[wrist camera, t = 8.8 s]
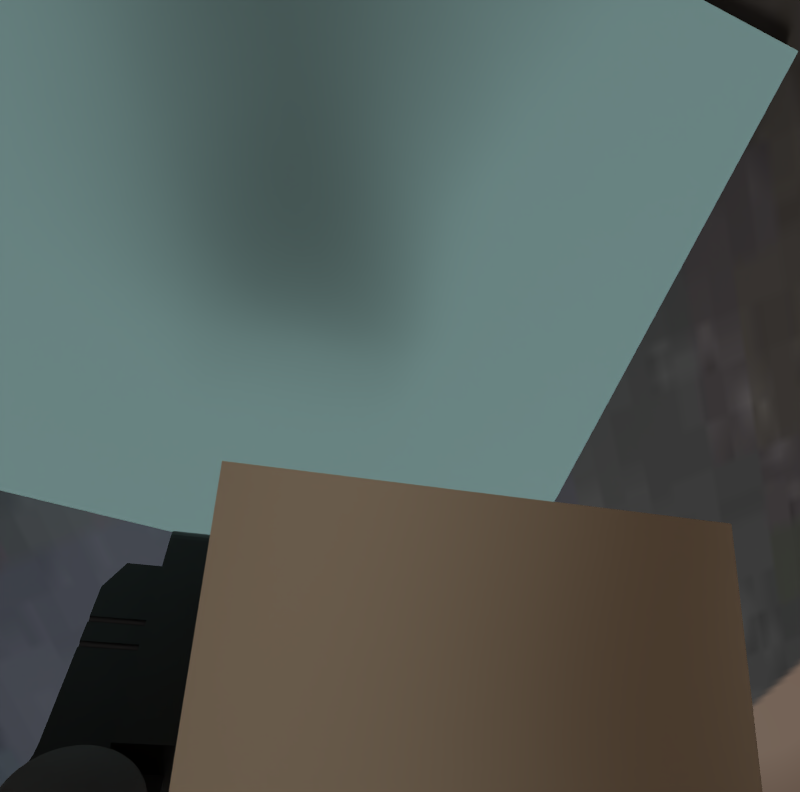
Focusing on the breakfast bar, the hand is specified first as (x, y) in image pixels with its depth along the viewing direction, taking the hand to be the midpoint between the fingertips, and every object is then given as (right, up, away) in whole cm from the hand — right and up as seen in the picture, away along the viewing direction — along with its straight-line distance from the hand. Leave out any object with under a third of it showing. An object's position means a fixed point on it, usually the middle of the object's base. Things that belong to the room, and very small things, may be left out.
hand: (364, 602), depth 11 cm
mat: (-1, +6, +6) cm, 9 cm away
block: (-1, -3, +3) cm, 5 cm away
